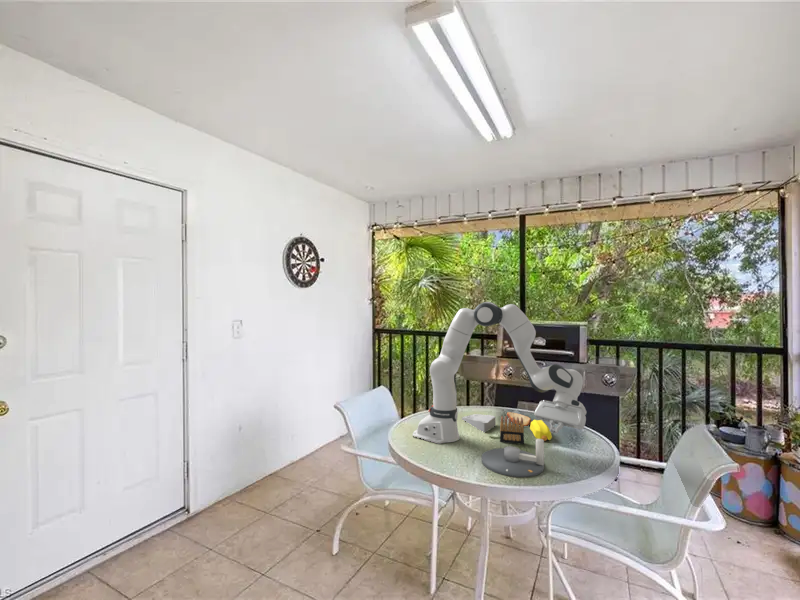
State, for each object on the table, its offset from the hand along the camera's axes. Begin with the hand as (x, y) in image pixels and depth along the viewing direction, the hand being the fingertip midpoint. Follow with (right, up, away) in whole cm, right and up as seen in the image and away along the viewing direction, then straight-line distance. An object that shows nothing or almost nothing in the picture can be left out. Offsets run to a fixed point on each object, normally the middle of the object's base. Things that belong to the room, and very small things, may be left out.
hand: (553, 432), depth 154 cm
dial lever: (-14, -10, -5) cm, 18 cm away
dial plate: (-18, -11, -3) cm, 22 cm away
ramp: (-21, -13, +47) cm, 53 cm away
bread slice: (+2, -13, +52) cm, 54 cm away
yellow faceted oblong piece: (+5, -12, +29) cm, 32 cm away
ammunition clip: (-11, -12, +20) cm, 26 cm away
